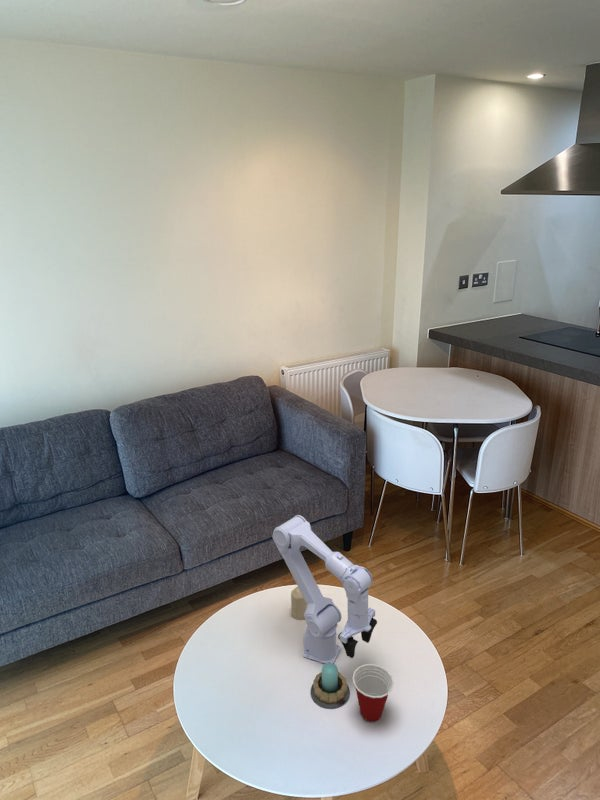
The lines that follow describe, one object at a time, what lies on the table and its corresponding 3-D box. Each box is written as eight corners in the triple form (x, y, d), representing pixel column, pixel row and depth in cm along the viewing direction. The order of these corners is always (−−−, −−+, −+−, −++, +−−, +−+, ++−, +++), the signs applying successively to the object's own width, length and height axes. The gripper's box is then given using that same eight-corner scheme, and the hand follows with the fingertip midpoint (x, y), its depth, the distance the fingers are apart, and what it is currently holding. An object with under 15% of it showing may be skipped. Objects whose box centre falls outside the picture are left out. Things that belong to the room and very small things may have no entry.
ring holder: (304, 701, 163) (304, 691, 162) (319, 672, 173) (319, 663, 172) (341, 714, 159) (341, 704, 158) (355, 684, 168) (355, 675, 167)
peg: (319, 694, 164) (319, 672, 162) (325, 683, 168) (325, 661, 165) (334, 699, 163) (334, 677, 160) (339, 687, 167) (339, 665, 164)
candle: (296, 622, 193) (295, 596, 189) (288, 611, 197) (288, 587, 194) (311, 616, 195) (310, 591, 192) (303, 606, 200) (302, 582, 196)
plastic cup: (383, 737, 152) (384, 701, 148) (345, 720, 157) (345, 685, 153) (398, 706, 161) (399, 672, 157) (361, 691, 166) (362, 657, 162)
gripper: (354, 629, 157) (354, 670, 161) (384, 601, 167) (383, 640, 171) (333, 618, 161) (333, 658, 165) (363, 591, 171) (363, 629, 176)
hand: (357, 648), depth 169 cm, fingers open, 7 cm apart
